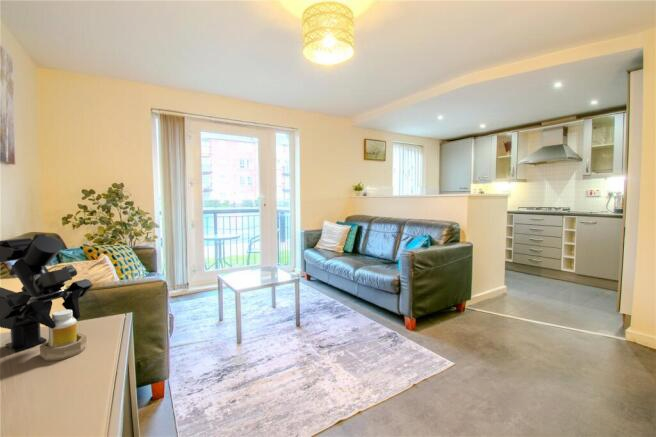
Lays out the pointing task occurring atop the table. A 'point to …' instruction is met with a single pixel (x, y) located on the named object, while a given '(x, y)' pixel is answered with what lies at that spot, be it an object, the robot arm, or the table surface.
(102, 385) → the table surface
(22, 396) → the table surface
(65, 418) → the table surface
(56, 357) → the can holder
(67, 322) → the supplement bottle
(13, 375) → the table surface
